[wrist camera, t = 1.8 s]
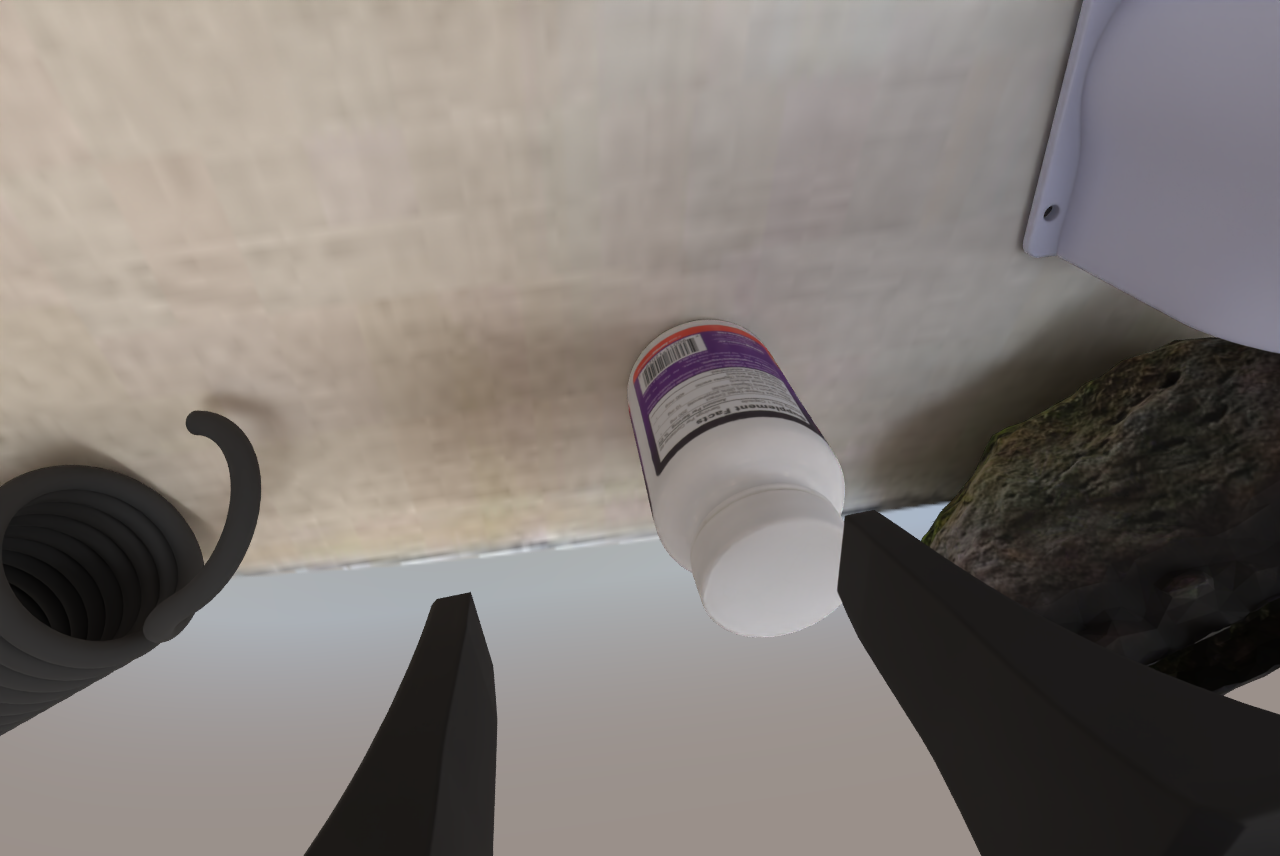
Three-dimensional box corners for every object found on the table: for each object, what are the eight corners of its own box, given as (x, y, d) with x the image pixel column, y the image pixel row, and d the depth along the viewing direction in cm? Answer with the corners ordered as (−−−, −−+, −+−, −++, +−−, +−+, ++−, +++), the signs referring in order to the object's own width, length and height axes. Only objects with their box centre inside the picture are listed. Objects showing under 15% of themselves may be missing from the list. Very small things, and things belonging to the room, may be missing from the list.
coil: (262, 356, 23) (376, 530, 28) (-369, 545, 21) (-120, 690, 27) (209, 497, 17) (364, 680, 23) (-652, 766, 16) (-265, 892, 21)
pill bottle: (756, 447, 26) (853, 654, 18) (618, 444, 25) (657, 661, 17) (788, 318, 23) (921, 497, 15) (634, 309, 22) (690, 495, 14)
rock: (912, 813, 25) (797, 577, 31) (1278, 691, 31) (1119, 513, 37) (1358, 546, 12) (1008, 232, 18) (1844, 423, 18) (1453, 218, 24)
